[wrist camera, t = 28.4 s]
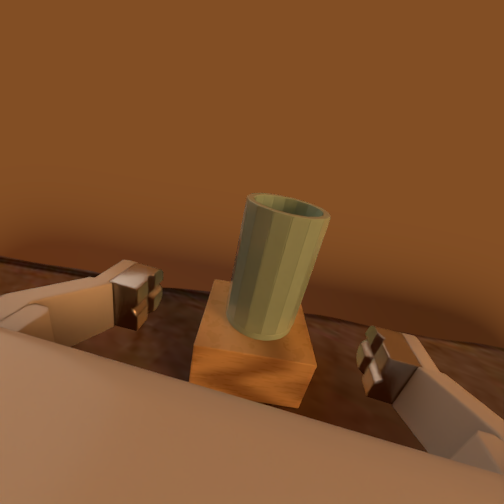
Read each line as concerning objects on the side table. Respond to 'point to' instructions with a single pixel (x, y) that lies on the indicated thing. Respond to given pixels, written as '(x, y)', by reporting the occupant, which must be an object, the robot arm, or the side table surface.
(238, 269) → the tumbler
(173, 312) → the side table surface
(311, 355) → the block
